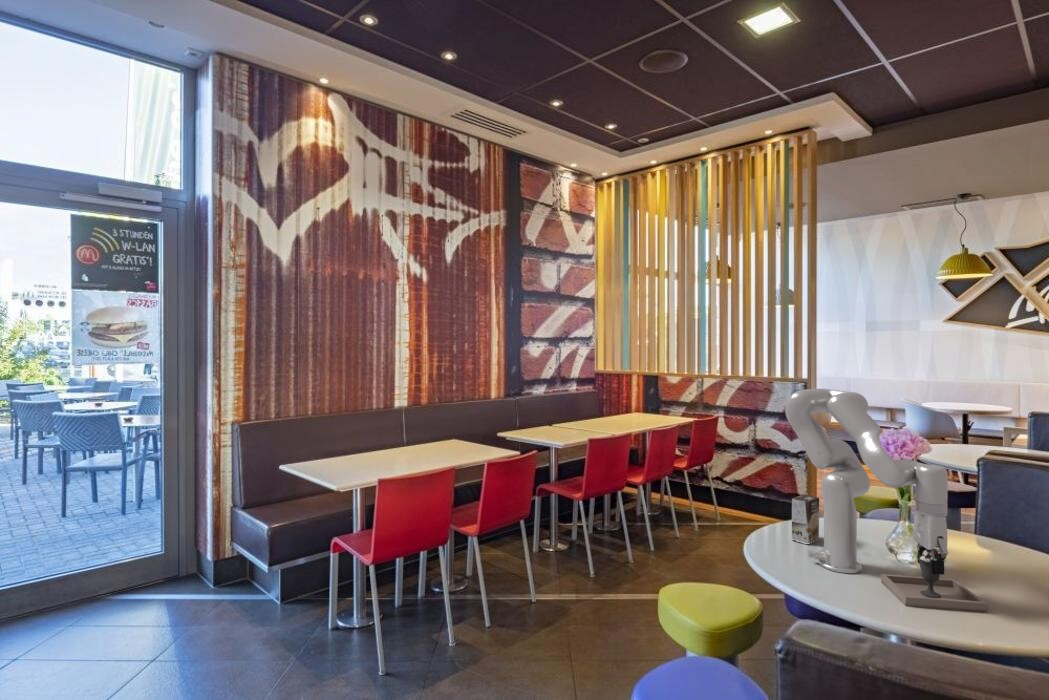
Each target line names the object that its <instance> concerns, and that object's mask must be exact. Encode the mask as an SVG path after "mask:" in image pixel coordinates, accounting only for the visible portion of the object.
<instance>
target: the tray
mask: <svg viewBox="0 0 1049 700" xmlns="http://www.w3.org/2000/svg"><path fill="white" fill-rule="evenodd" d="M880 582H881V584H882V585H884V586H885V588H887V590H889V592H890V593H892V594H893V595H894V596H895V597H896V598H897V599H898V600H899V601H900V602H901V603H902V604H903V605H904V606H905V607H912V606H913V607H914V608H925V609H926V608H927V609H935V610H936V609H940V610H950V611H951V610H952V611H961V612H962V611H963V612H973V613H974V612H975V613H985V612H987V613H988V603H987V602H986V601H984V600H983V599H982V598H980V597H979V596H977V595H976V594H975V593H973V592H972V591H971V590H970V589H968V588H966V587H965V586H964V585H963V584H961V583H960V582H959V581H957V580H956V579H954V578H940V577H939V580H938V581H936V582H934V583H933V590H934V592H936V593H938V594H940V595H941V597H940V598H932V597H928V596H925V595H923V594H921V593H920V591H923V590H927V589H928V582H927V581H926V580H925V579H924V578H923V577H922V576H915V575H914V576H912V575H900V574H898V575H897V574H896V575H895V574H883V573H881V574H880Z"/></svg>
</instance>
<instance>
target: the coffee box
mask: <svg viewBox="0 0 1049 700" xmlns="http://www.w3.org/2000/svg"><path fill="white" fill-rule="evenodd" d="M792 539H795V540H799V541H802V542H805V543H811V542H813V541H815V542H817V541H816V540H818V539H820V497H816V496H813V495H806V494H801V495H798V496H795V497H792V498H791V540H792ZM818 541H819V540H818ZM813 543H814V542H813ZM811 544H812V543H811Z"/></svg>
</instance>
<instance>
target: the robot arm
mask: <svg viewBox="0 0 1049 700" xmlns="http://www.w3.org/2000/svg"><path fill="white" fill-rule="evenodd" d="M868 410H869V402H868V400H867V399H866V397H865V396H864V395H862V394H861V393H859V392H855V391H846V390H840V389H839V390H838V389H829V388H810V389H809V388H807V389H800V390H797V391H795V392H793V393H792V394H791V395H790V396H789V397H788V398H787V400H786V403H785V409H784V412H785V416H786V419H787V421H788V423H789V424H790V427H791V428H792V430H793V432H795V434H796V436H797V438H798V440H799V442H800V443H801V445H802V447H803V449H804V451H805V452H806V455H807V457H808V458H809V460H810V462H811V463H812V465H813V466H814V467H816V468H817V469H821V470H826V469H833V471H831V472H827V474H826V475H824V476H823V478H822V479H821V483H820V490H821V496H822V502H823V547H821V548H820V550H817V551H812V550H811V551H810V550H807V556H808V558H814V560H818V564H819V565H820V566H821V567H823V568H824V569H828V570H830V571H833V572H836V573H837V572H838V573H843V574H858V573H861V572H862V571H863V566H862V565H863V564H861V563H860V562H859V561H857V560H858V559H857V558H858V557H857V554H858V553H857V552H858V551H857V550H858V548H857V547H858V546H857V545H858V543H857V542H858V540H857V539H858V536H857V535H858V534H857V533H858V521H857V520H858V516H857V515H858V512H857V508H856V504H855V501H854V498H857V497H861V496H864V495H865V494H867V493H868V492H869V490H870V488H871V480H870V477H869V475H868V474H867V471H866V470H865V468H864V466H863V465H862V463H861V461H860V460H859V458H858V456H857V455H856V453H855V452H854V450H853V448H852V447H851V446H850V445H849V444H848V443H847V442H846V441H844V440H843V439H839V438H829V436H828V434H827V433H826V432H825V430H824V429H825V428H824V427H823V426H822V425H821V423H820V422H819V421H818V420H817V419H816V418H815V417H814V416H813V414H821V413H822V414H823V413H824V414H830V415H831V416H832V417H833V418H834V420H835V421H836V422H837V423H838V424H839V425H840V426H841V427H842V429H844V430H845V432H846V433H847V434H848V435H849V436H850V438H852V439H853V442H855V443H856V446H857V450H858V453H859V456H860V458H861V460H862V462H863V463H864V465H865V466H866V468H868V470H869V471H870V472H871V473H872V474H873V475H874V476H875V478H876V479H878V480H879V481H880V483H882V484H883V485H885V486H887V487H889V488H895V489H896V488H902V487H905V486H912V485H915V507H914V508H915V512H914V517H913V518H914V519H913V529H912V530H913V531H912V539H913V540H914V542H916V543H917V545H916V549H917V550H918V549H919V550H921V551H925V550H931V554H932V559H931V573H932V574H939V575H940V576H942V575H943V576H944V575H945V563H944V562H945V561H946V558H947V556H948V554H949V551H948V525H947V516H948V491H949V490H948V488H949V487H948V481H949V478H948V477H949V475H948V470H947V469H946V468H945V467H943V466H941V465H938V464H937V465H936V464H932V463H931V464H927V463H923V462H919V461H915V460H913V459H908V458H903V459H898V460H897V459H896V460H894V459H893V458H892V457H891V456H890V455H889V454H888V453H887V451H886V450H885V449H884V447H883V446H882V444H881V441H880V434H881V430H882V429H881V426H880V425H879V424H878V423H877V422H876V421H875V419H873V418H872V416H871V415H869V413H867V412H868ZM936 547H937V548H936ZM935 552H938V554H937V555H936V554H935ZM917 556H919V552H918V551H917ZM917 563H918V564H919V565H920V562H919V559H917Z"/></svg>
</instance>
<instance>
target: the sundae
mask: <svg viewBox="0 0 1049 700" xmlns="http://www.w3.org/2000/svg"><path fill="white" fill-rule="evenodd" d="M935 549H938V547H935ZM918 552H919V556H918V555H916V557H915V558H916V559H917V560H918V559H919V562H920V564H919V566H920V573H921V577H923V578H924V579H925V580H926V581H927V582H928V589H927V590H923V591H920V593H921V594H923V595H925V596H928V597H932V598H940V597H941V595H940V594H938V593H936V592H934V590H933V583H934V582H936V581H938V580H939V578H940V577H941V575H939V574H932V573H931V559H932V554H931V550H925V551H921V550H920V549H917V553H918ZM938 553H939V552H935V554H936V555H937V554H938ZM944 564H946V563H945V561H944Z"/></svg>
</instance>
